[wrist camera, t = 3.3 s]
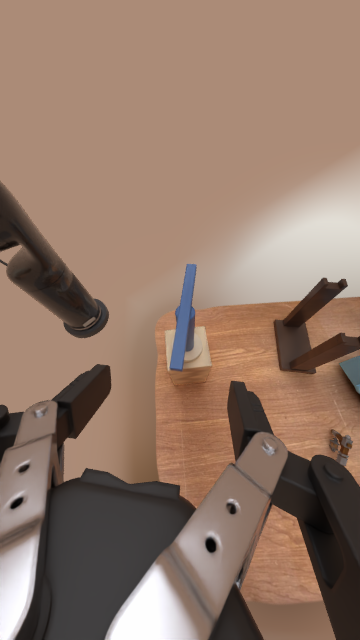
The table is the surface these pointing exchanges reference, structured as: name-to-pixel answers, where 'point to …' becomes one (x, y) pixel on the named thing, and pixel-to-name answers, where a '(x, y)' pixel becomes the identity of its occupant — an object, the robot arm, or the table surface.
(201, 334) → the riser
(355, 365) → the teapot
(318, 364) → the stand
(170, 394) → the table surface
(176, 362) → the bar
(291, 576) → the table surface
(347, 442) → the hanging lantern post
